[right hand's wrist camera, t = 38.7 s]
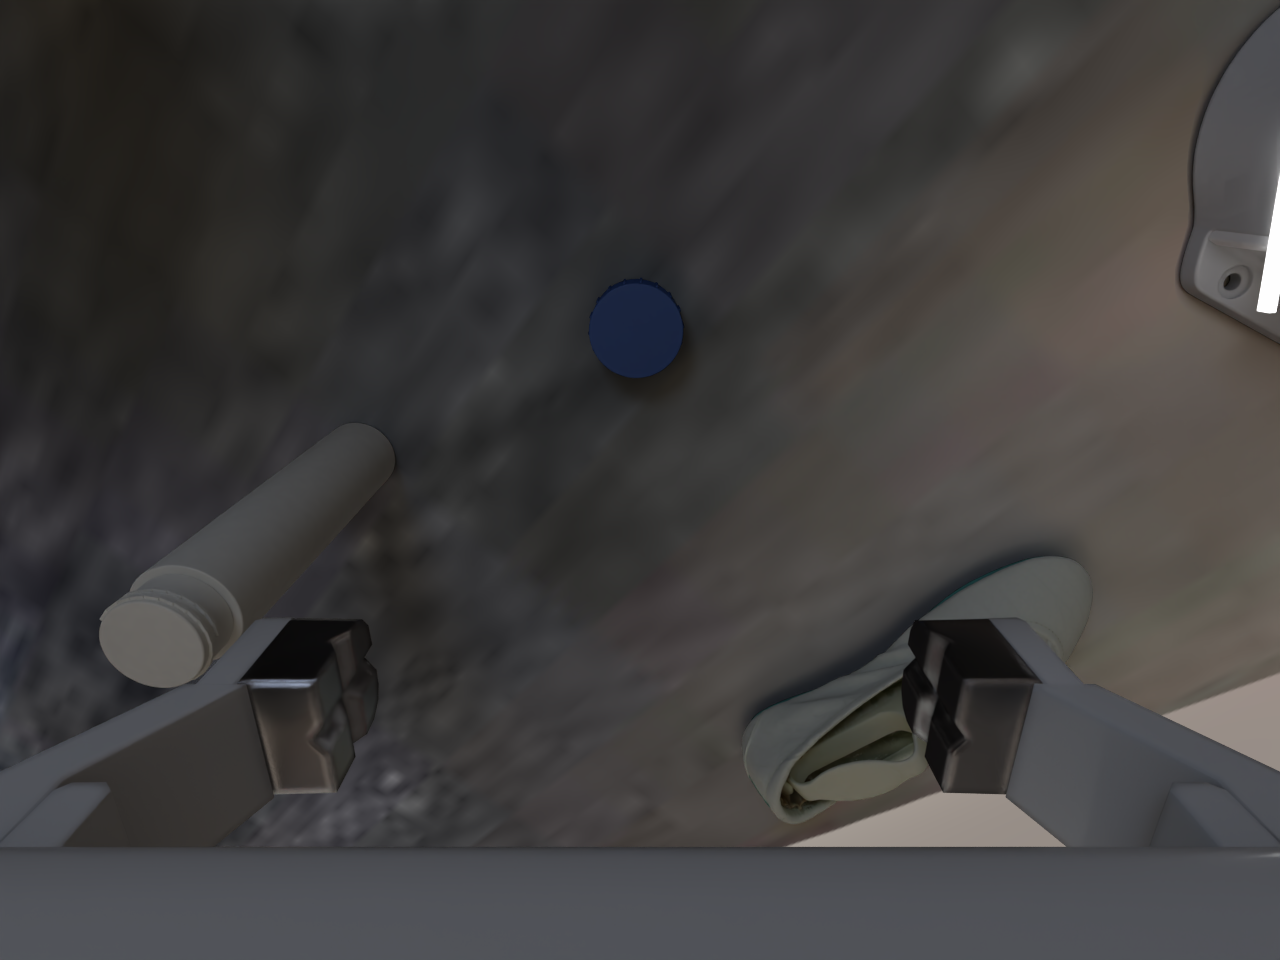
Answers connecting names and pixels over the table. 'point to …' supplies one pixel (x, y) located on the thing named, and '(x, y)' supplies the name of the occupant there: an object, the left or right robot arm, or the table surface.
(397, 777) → the table surface
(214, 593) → the bottle
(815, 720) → the ballet flat
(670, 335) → the lid
